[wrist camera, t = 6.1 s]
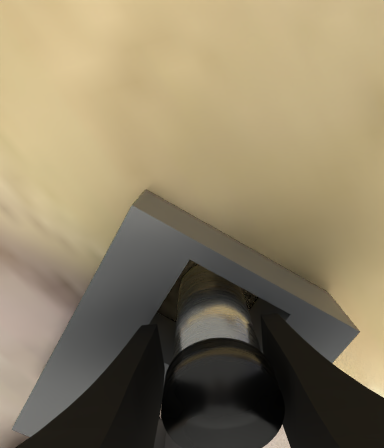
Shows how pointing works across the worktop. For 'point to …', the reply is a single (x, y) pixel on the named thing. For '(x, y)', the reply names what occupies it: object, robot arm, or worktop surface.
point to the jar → (218, 371)
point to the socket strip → (155, 295)
